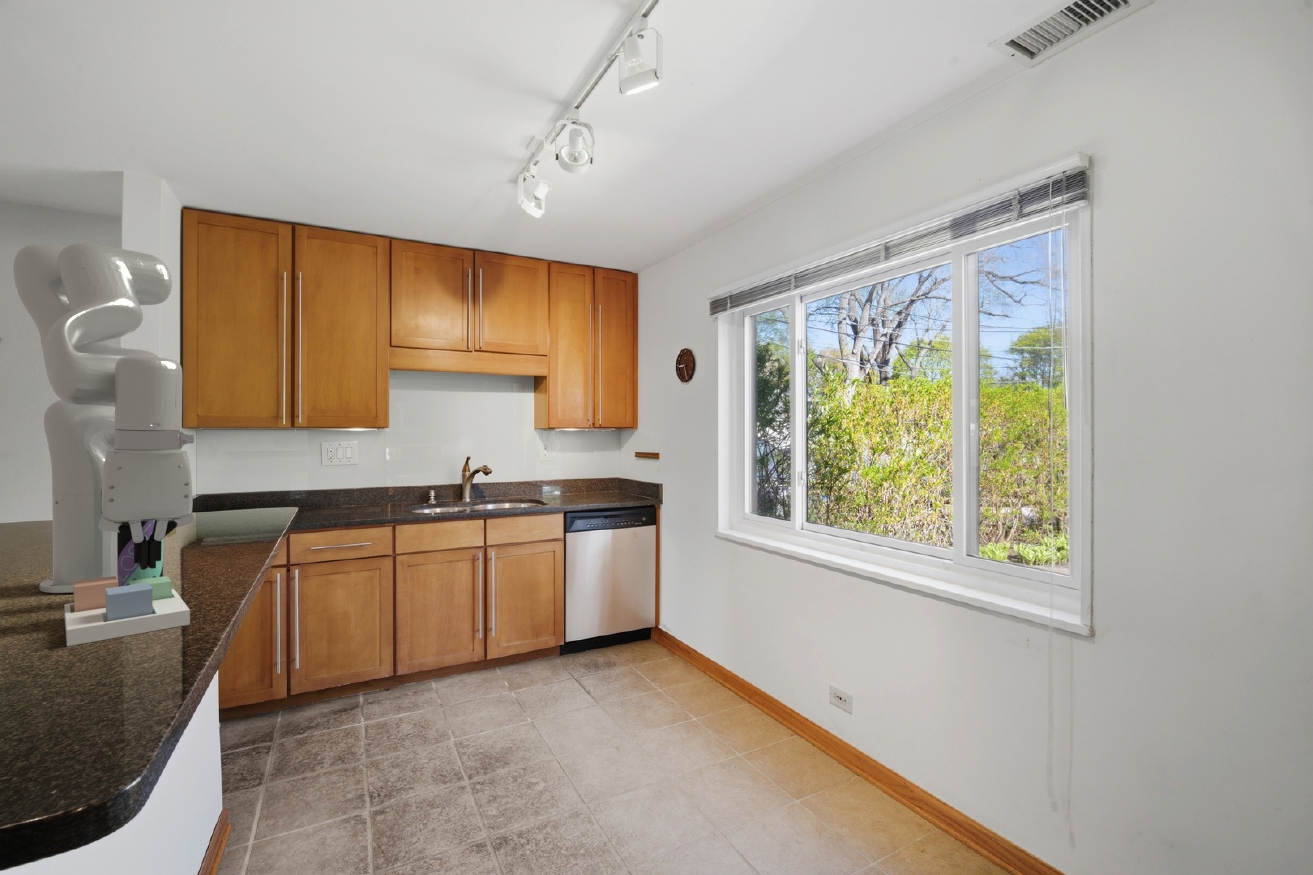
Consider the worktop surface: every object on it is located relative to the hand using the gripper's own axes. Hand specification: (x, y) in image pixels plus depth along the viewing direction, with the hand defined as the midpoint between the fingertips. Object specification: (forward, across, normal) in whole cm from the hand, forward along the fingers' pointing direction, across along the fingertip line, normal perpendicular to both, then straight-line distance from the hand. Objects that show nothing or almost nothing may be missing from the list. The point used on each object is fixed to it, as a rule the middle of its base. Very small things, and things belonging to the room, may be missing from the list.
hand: (147, 566), depth 89 cm
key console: (+6, +3, +5) cm, 8 cm away
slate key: (+4, +3, +9) cm, 10 cm away
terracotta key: (+4, +6, +1) cm, 7 cm away
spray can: (+7, 0, -9) cm, 12 cm away
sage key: (+5, 0, +1) cm, 6 cm away
